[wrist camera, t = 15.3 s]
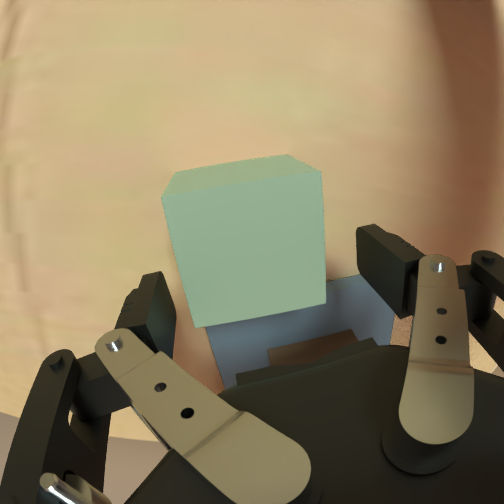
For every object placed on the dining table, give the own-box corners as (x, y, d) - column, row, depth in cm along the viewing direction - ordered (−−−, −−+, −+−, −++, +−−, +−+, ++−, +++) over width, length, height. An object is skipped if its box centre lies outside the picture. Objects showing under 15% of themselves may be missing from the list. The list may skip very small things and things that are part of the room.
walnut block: (267, 349, 18) (284, 413, 14) (351, 328, 19) (384, 383, 14) (275, 400, 21) (290, 456, 16) (346, 382, 21) (371, 433, 17)
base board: (202, 306, 18) (202, 317, 17) (391, 266, 18) (399, 274, 17) (238, 420, 23) (239, 429, 22) (374, 386, 24) (378, 394, 23)
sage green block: (175, 172, 14) (161, 197, 10) (286, 154, 15) (321, 171, 10) (196, 271, 17) (195, 328, 12) (295, 253, 17) (325, 303, 13)
